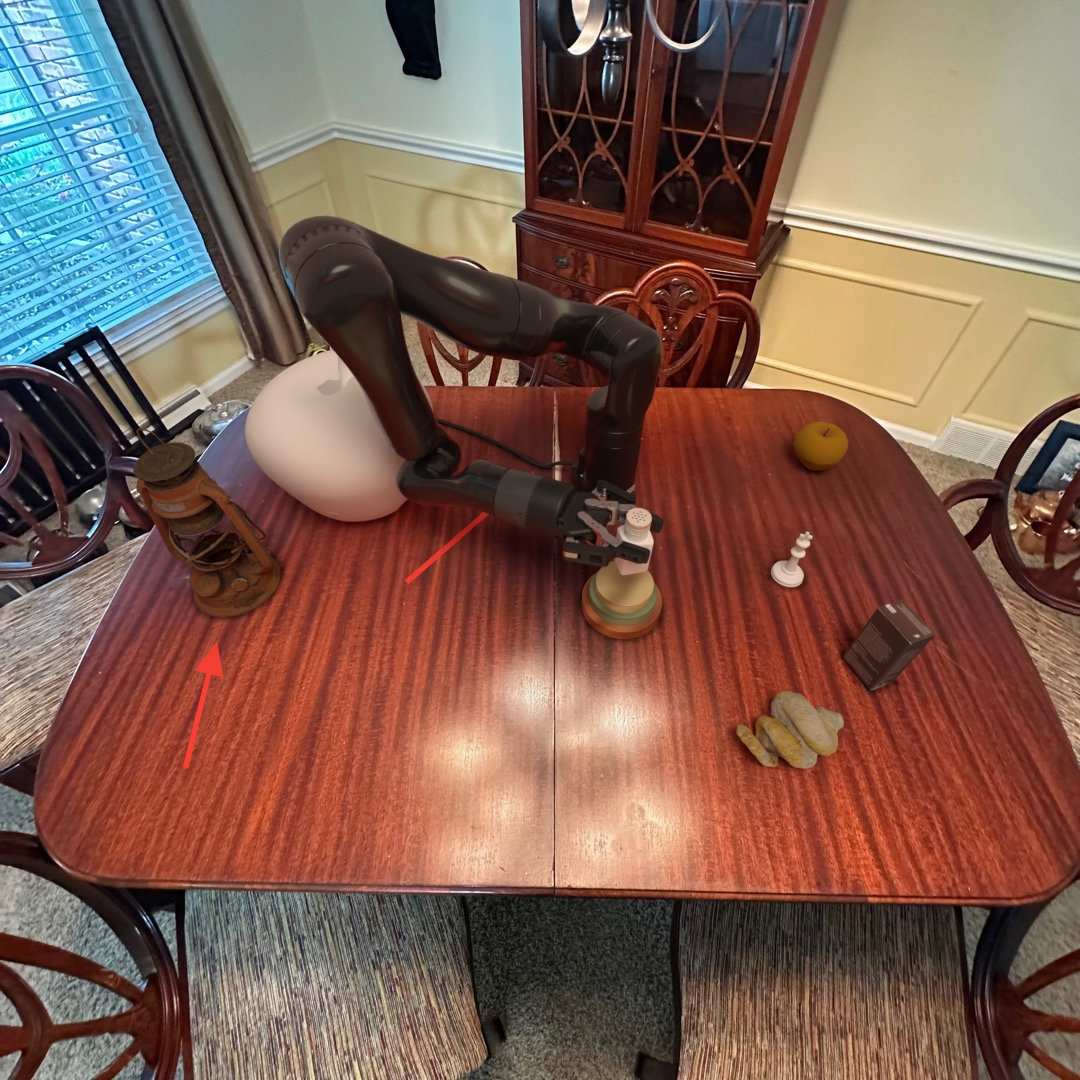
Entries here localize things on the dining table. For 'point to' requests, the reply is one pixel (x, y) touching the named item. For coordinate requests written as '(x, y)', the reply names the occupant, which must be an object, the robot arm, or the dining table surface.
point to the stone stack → (793, 732)
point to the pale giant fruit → (324, 441)
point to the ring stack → (621, 603)
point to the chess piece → (792, 564)
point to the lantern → (196, 507)
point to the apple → (820, 445)
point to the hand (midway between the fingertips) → (655, 541)
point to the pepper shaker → (635, 538)
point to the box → (887, 644)
